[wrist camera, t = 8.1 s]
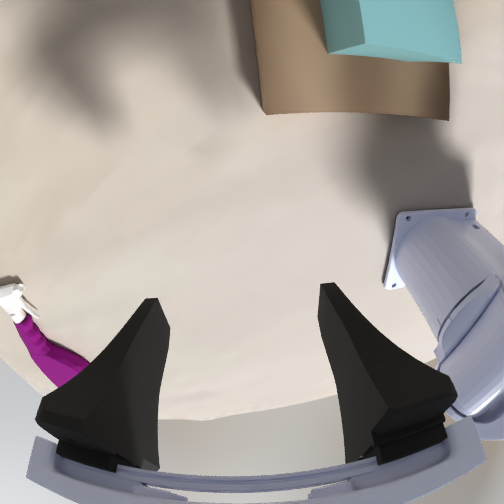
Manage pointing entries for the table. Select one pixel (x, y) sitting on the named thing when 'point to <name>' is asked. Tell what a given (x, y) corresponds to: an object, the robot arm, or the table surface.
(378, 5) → the teal cube
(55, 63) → the table surface
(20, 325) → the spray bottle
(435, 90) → the walnut base
